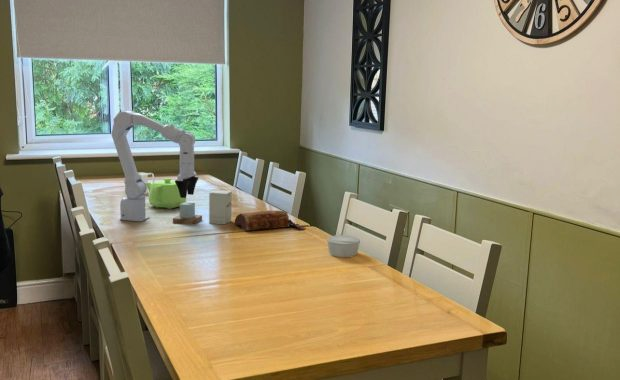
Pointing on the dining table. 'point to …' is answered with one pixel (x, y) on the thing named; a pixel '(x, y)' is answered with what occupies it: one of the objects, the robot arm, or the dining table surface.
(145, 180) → the cup
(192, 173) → the robot arm
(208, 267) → the dining table surface
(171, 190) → the teapot
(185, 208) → the pale grey block
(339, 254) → the ramekin
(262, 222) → the cured meat
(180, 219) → the walnut slab
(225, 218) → the supplement box
